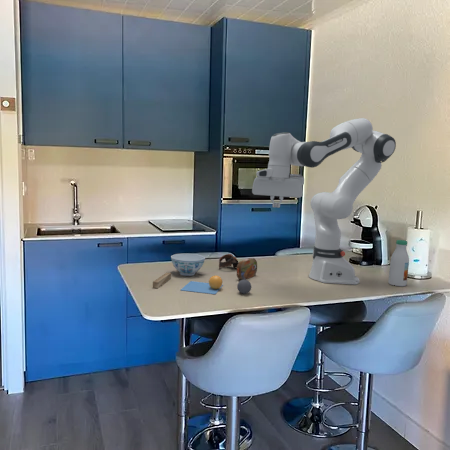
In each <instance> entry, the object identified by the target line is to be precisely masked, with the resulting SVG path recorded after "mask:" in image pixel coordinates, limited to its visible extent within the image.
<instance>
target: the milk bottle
mask: <svg viewBox="0 0 450 450" xmlns="http://www.w3.org/2000/svg"><path fill="white" fill-rule="evenodd" d="M395 246H396V247H395V249H394V251H393V253H392V254H391V258H390V264H389V270H388V271H389V272H388V284H389V285H391V286H394V285H395V287H406V286H407V283H408V275H409V265H410V258H409V257H410V256H409V254H408V251H407V246H408V240H403V239H397V240H396V241H395Z"/></svg>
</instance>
